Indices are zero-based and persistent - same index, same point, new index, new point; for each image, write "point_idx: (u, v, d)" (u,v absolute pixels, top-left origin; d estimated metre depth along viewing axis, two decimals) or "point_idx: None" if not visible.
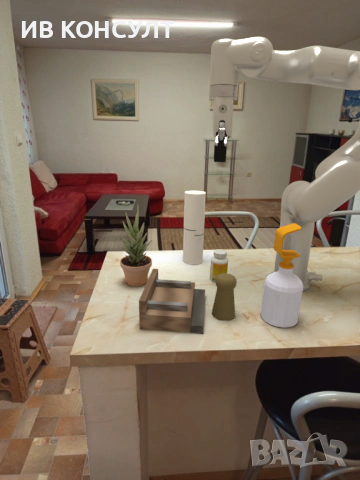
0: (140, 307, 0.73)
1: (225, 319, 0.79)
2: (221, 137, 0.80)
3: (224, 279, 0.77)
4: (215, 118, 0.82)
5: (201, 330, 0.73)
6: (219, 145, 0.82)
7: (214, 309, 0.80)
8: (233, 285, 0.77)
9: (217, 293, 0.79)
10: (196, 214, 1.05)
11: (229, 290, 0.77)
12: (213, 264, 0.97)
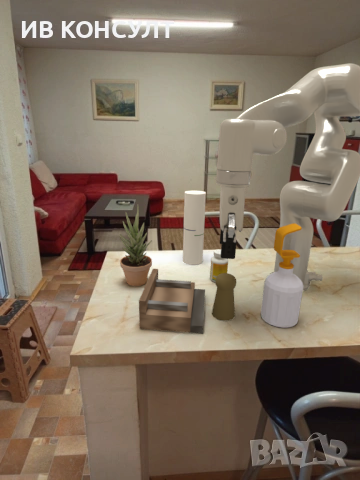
0: (140, 307, 0.73)
1: (225, 319, 0.79)
2: (230, 235, 0.66)
3: (224, 279, 0.77)
4: (223, 210, 0.68)
5: (201, 330, 0.73)
6: (227, 241, 0.68)
7: (214, 309, 0.80)
8: (233, 285, 0.77)
9: (217, 293, 0.79)
10: (196, 214, 1.05)
11: (229, 290, 0.77)
12: (213, 264, 0.97)
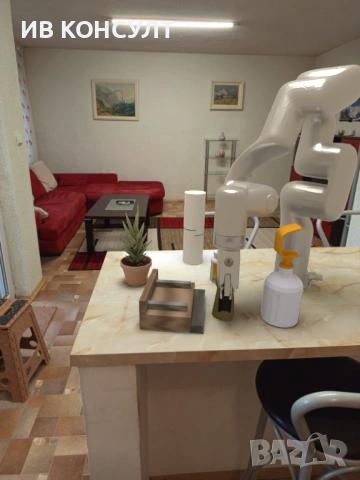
0: (140, 307, 0.73)
1: (225, 319, 0.79)
2: (226, 296, 0.74)
3: None
4: (220, 271, 0.73)
5: (201, 330, 0.73)
6: (224, 299, 0.76)
7: (214, 309, 0.80)
8: None
9: (217, 293, 0.79)
10: (196, 214, 1.05)
11: None
12: (213, 264, 0.97)
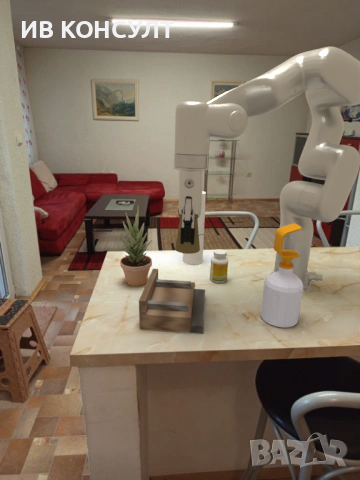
0: (140, 307, 0.73)
1: (188, 252, 0.74)
2: (187, 223, 0.69)
3: None
4: (180, 193, 0.68)
5: (201, 330, 0.73)
6: (186, 227, 0.71)
7: (177, 242, 0.75)
8: None
9: (180, 224, 0.74)
10: None
11: None
12: (213, 264, 0.97)
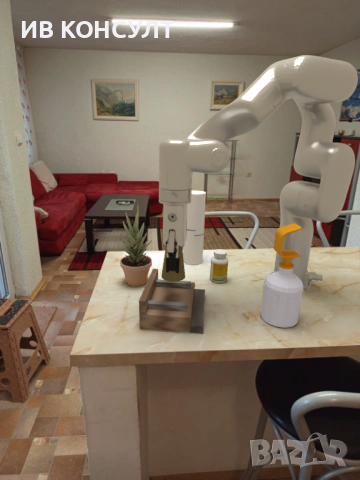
0: (140, 307, 0.73)
1: (173, 280, 0.76)
2: (171, 254, 0.72)
3: None
4: (164, 226, 0.71)
5: (201, 330, 0.73)
6: (170, 257, 0.74)
7: (163, 270, 0.78)
8: None
9: (165, 253, 0.77)
10: (196, 214, 1.05)
11: None
12: (213, 264, 0.97)
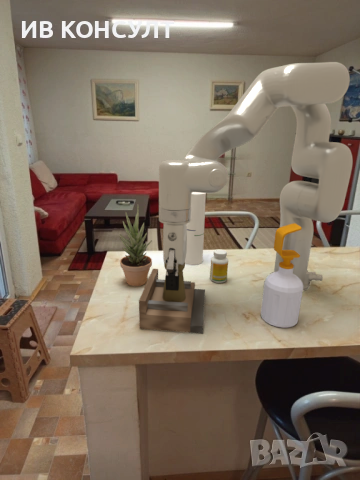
0: (140, 307, 0.73)
1: (174, 301, 0.78)
2: (170, 272, 0.72)
3: None
4: (164, 245, 0.72)
5: (201, 330, 0.73)
6: (170, 275, 0.74)
7: (164, 291, 0.80)
8: (180, 267, 0.76)
9: None
10: (196, 214, 1.05)
11: None
12: (213, 264, 0.97)
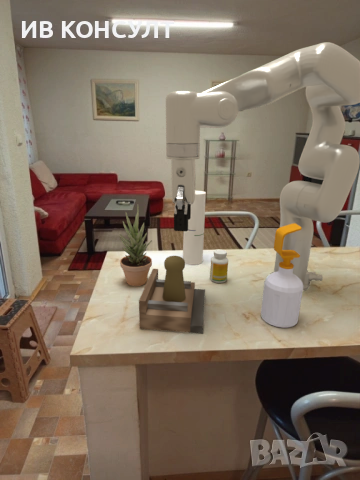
0: (140, 307, 0.73)
1: (174, 301, 0.78)
2: (179, 206, 0.67)
3: (171, 260, 0.76)
4: (173, 182, 0.69)
5: (201, 330, 0.73)
6: (178, 213, 0.70)
7: (164, 292, 0.80)
8: (180, 267, 0.76)
9: (166, 275, 0.79)
10: (196, 214, 1.05)
11: (177, 272, 0.77)
12: (213, 264, 0.97)
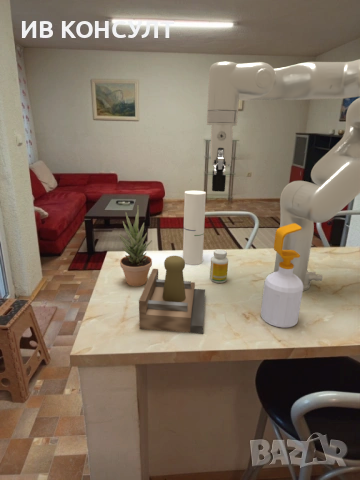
0: (140, 307, 0.73)
1: (174, 301, 0.78)
2: (220, 166, 0.75)
3: (171, 260, 0.76)
4: (213, 145, 0.76)
5: (201, 330, 0.73)
6: (218, 174, 0.77)
7: (164, 292, 0.80)
8: (180, 267, 0.76)
9: (166, 275, 0.79)
10: (196, 214, 1.05)
11: (177, 272, 0.77)
12: (213, 264, 0.97)
